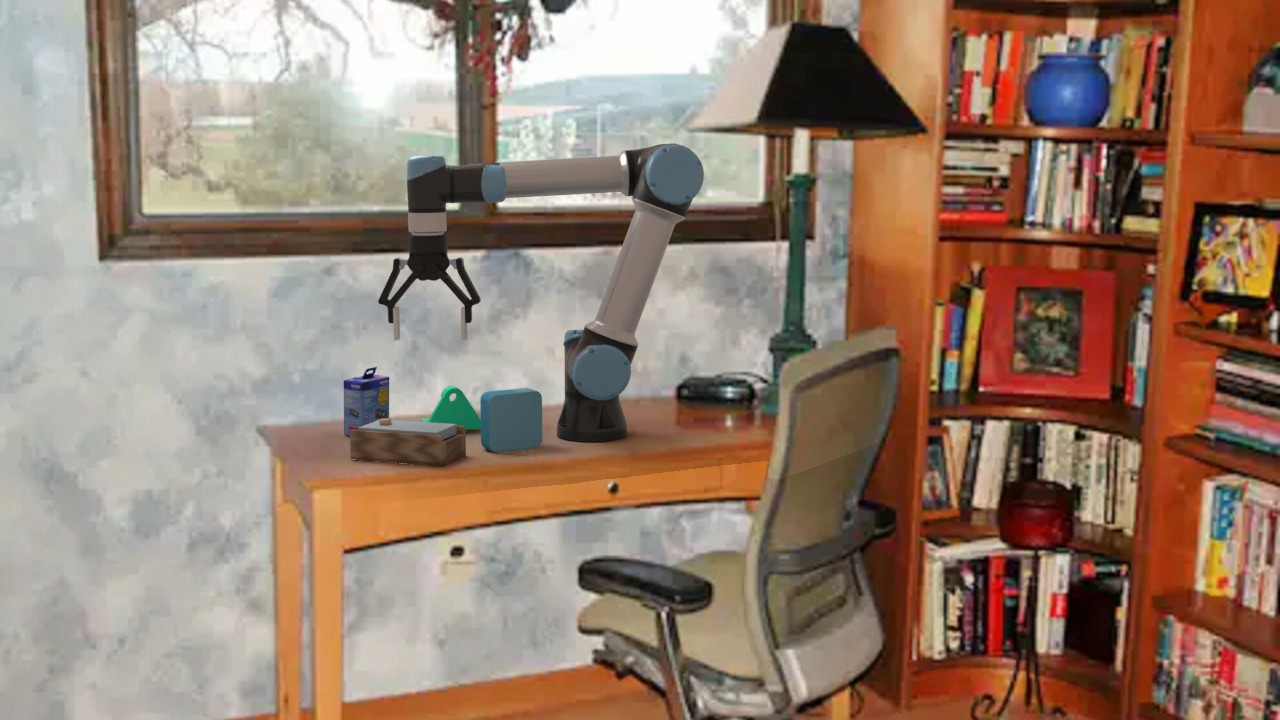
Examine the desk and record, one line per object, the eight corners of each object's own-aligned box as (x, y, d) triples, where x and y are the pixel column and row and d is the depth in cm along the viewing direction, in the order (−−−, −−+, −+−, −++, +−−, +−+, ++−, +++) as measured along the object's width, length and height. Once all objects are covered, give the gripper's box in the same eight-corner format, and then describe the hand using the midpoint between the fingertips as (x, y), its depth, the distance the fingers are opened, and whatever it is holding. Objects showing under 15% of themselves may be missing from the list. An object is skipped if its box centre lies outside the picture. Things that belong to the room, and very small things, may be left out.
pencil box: (465, 455, 309) (465, 426, 309) (442, 466, 299) (441, 436, 298) (376, 449, 316) (376, 420, 315) (350, 459, 305) (349, 430, 304)
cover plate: (456, 433, 308) (456, 419, 308) (436, 442, 300) (436, 427, 299) (380, 428, 314) (380, 414, 313) (359, 437, 305) (358, 422, 305)
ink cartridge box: (363, 438, 327) (361, 371, 325) (342, 436, 329) (340, 369, 327) (391, 430, 335) (390, 365, 333) (371, 428, 338) (369, 363, 336)
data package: (533, 443, 321) (532, 387, 320) (542, 447, 318) (542, 390, 316) (480, 449, 315) (479, 392, 314) (490, 453, 312) (489, 395, 310)
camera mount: (473, 427, 340) (472, 381, 339) (482, 433, 333) (481, 386, 332) (420, 430, 336) (419, 384, 335) (427, 437, 329) (426, 389, 328)
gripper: (492, 232, 309) (494, 336, 312) (369, 232, 310) (372, 337, 313) (487, 234, 302) (490, 341, 305) (361, 235, 302) (365, 342, 305)
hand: (430, 339), depth 309 cm, fingers open, 13 cm apart
